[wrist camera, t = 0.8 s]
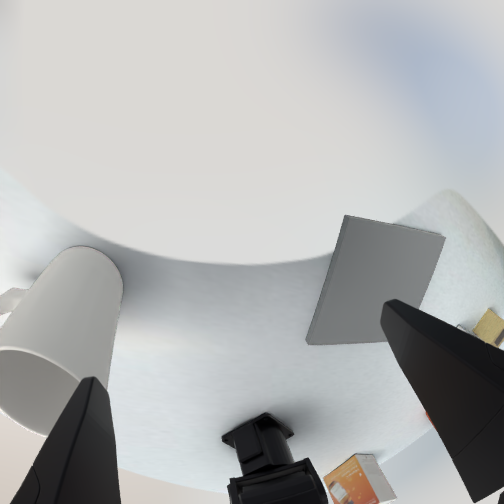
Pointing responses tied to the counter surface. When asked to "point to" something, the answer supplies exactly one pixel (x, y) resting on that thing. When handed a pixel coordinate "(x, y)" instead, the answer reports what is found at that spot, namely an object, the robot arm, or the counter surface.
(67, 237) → the counter surface
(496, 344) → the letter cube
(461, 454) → the robot arm
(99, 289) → the mug
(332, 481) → the small box
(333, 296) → the slate pad
